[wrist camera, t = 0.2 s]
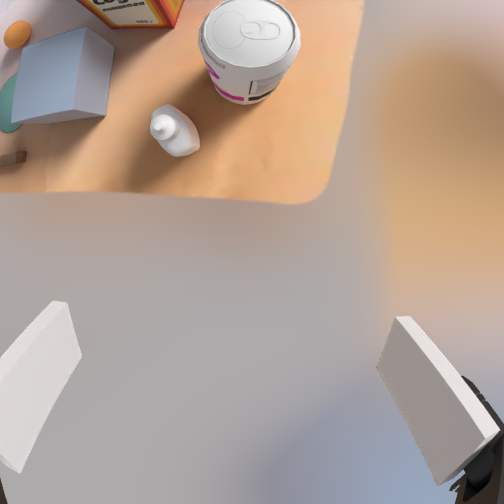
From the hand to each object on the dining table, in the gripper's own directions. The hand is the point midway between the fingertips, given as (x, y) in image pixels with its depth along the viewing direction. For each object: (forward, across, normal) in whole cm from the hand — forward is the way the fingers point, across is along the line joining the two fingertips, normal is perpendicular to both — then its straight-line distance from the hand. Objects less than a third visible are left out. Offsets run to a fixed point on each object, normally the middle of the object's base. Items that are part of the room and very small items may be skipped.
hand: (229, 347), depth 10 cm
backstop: (+28, -37, +8) cm, 47 cm away
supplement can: (+28, 0, +17) cm, 32 cm away
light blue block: (+28, -23, +17) cm, 40 cm away
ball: (+25, -37, +29) cm, 53 cm away
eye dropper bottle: (+28, -7, +9) cm, 30 cm away
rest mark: (+28, -37, +17) cm, 49 cm away
